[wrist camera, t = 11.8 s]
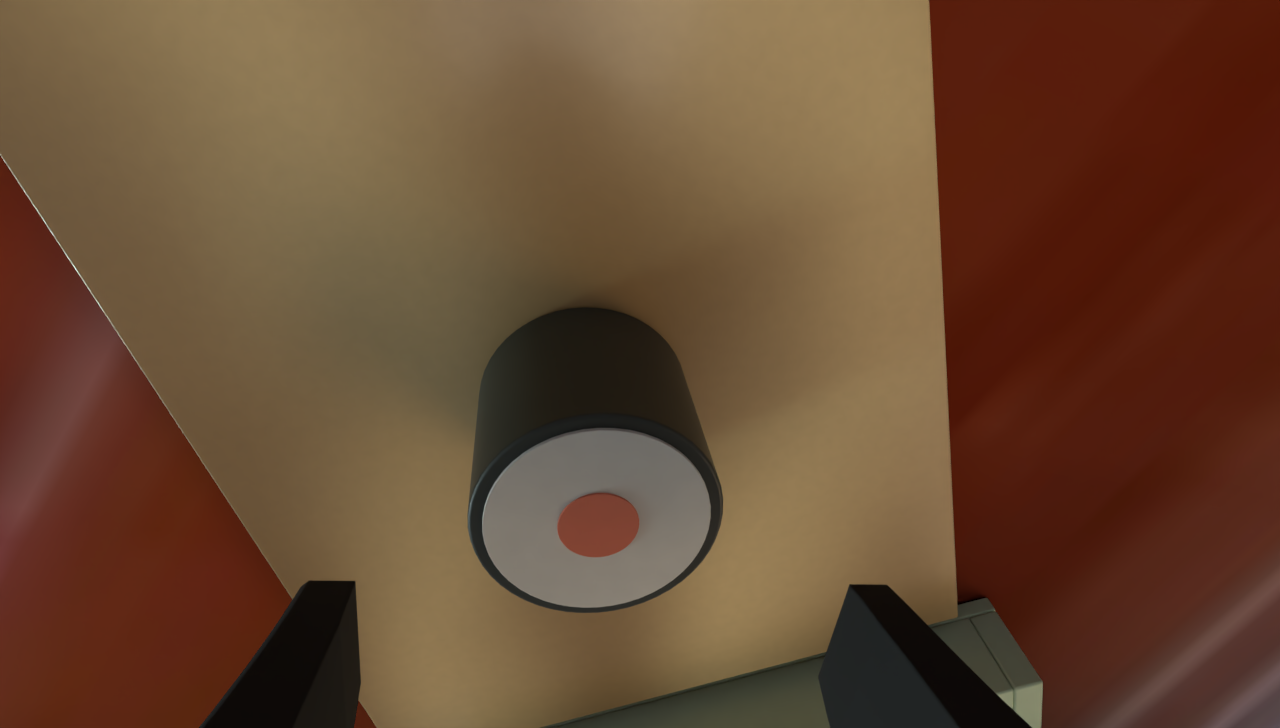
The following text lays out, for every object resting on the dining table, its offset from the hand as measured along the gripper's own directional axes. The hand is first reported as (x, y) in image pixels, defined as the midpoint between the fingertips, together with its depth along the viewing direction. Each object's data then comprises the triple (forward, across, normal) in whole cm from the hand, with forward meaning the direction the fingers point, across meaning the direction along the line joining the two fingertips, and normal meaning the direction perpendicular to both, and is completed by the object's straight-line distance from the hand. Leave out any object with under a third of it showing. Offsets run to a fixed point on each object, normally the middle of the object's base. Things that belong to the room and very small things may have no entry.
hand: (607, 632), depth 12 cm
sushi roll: (+6, 0, 0) cm, 6 cm away
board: (+7, 0, 0) cm, 7 cm away
